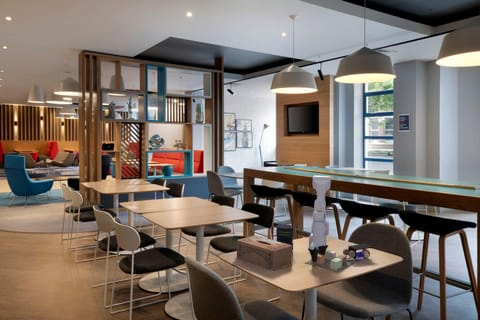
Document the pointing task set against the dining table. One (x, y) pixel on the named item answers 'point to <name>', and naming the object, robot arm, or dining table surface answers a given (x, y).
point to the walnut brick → (343, 259)
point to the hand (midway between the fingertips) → (317, 260)
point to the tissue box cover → (264, 252)
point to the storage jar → (285, 234)
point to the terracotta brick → (320, 259)
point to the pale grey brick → (330, 255)
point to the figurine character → (353, 254)
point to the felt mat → (328, 263)
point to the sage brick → (336, 263)
